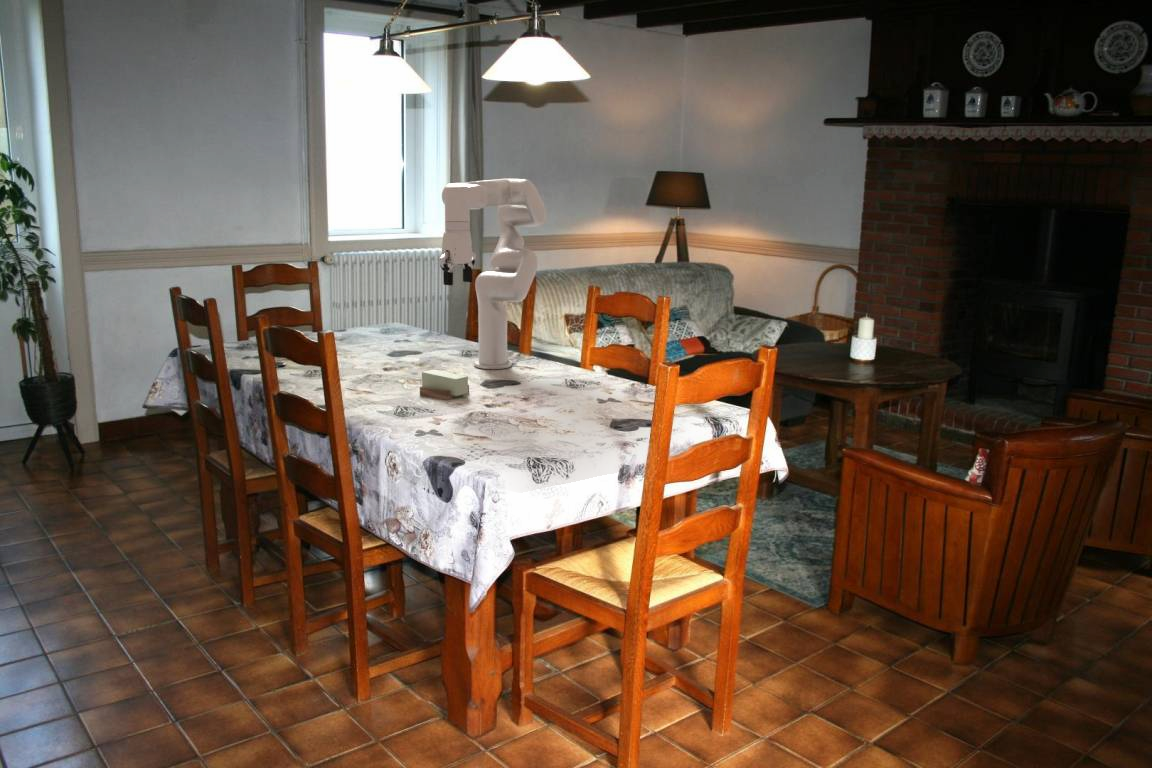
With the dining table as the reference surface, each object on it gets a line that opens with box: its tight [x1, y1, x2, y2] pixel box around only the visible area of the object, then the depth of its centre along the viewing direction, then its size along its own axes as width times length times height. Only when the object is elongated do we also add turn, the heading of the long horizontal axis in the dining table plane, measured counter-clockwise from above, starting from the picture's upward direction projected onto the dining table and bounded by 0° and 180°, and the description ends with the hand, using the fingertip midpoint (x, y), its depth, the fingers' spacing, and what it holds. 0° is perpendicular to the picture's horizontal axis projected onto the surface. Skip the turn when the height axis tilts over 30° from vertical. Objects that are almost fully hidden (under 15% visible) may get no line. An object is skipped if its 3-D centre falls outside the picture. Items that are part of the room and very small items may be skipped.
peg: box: [421, 369, 469, 397], centre depth 290 cm, size 5×14×5 cm, turn 52°
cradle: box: [419, 384, 470, 401], centre depth 290 cm, size 10×10×2 cm
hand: (458, 283), depth 302 cm, fingers open, 9 cm apart
